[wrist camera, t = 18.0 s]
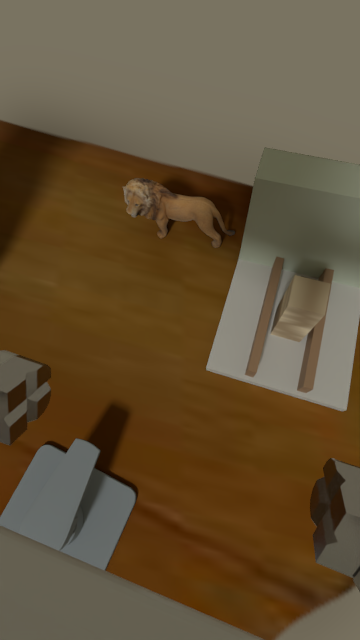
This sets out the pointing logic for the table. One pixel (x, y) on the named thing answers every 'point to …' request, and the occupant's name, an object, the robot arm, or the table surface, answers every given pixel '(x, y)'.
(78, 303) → the table surface
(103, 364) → the table surface
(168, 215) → the lion figurine
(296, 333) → the beige wooden block
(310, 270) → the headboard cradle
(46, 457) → the shower valve
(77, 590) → the robot arm
